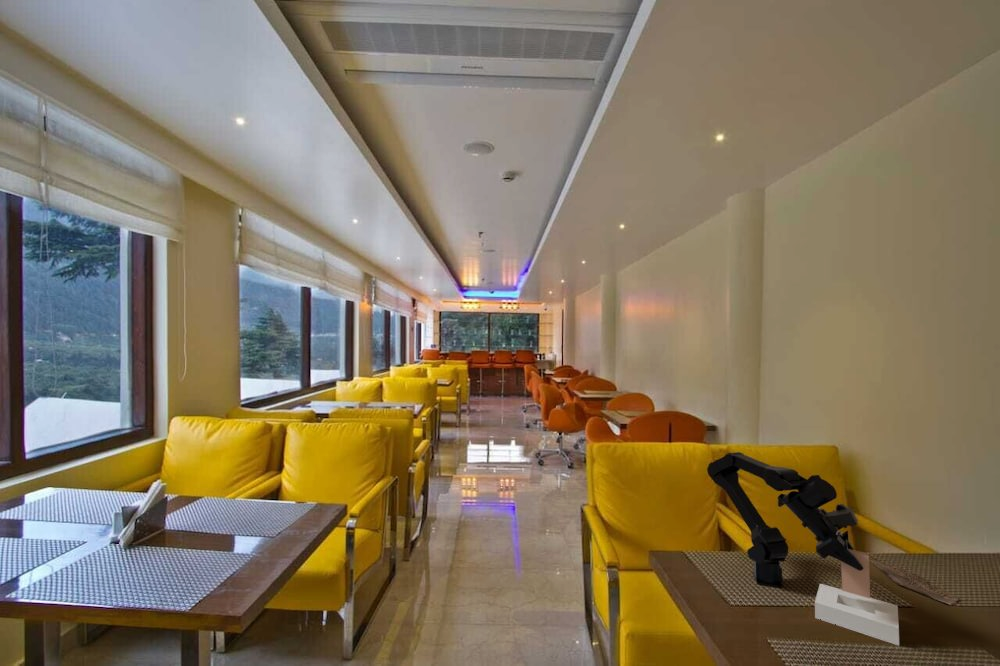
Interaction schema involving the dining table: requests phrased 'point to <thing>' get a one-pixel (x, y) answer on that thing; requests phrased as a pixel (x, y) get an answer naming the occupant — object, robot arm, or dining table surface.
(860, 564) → the robot arm
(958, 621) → the dining table surface
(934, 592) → the wooden fragment
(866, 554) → the pink rectangular block
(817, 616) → the white slotted block
